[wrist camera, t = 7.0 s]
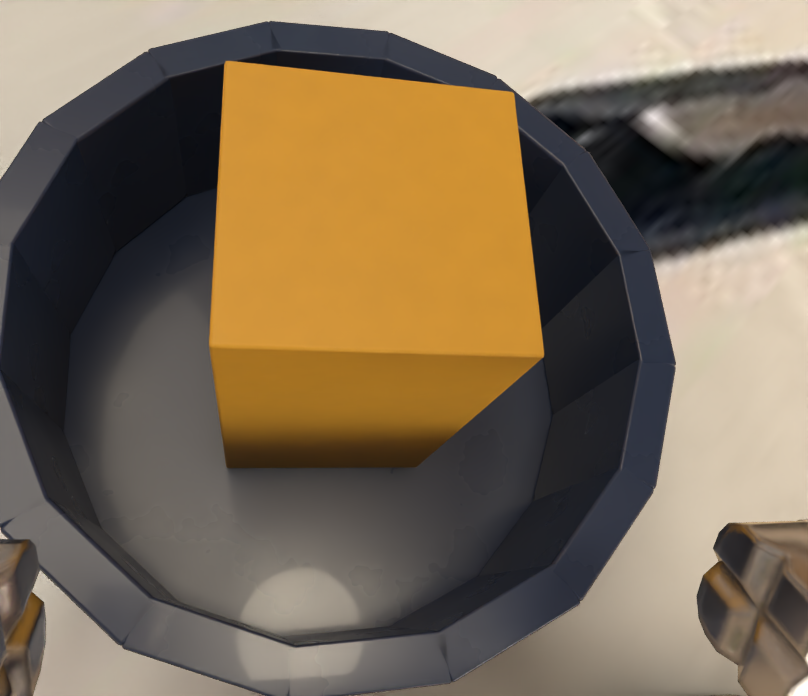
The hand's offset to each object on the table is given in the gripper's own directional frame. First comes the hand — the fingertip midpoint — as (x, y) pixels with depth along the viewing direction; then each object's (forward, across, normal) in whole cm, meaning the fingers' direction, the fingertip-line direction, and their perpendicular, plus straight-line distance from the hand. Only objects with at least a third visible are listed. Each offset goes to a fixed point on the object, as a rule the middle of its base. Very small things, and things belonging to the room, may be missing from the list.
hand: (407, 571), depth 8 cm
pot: (+11, 0, +3) cm, 12 cm away
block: (+11, 0, +3) cm, 11 cm away
